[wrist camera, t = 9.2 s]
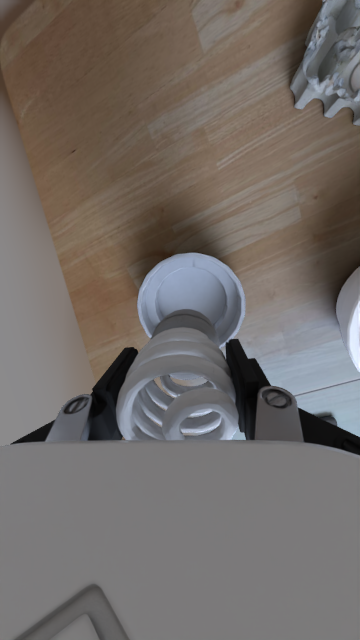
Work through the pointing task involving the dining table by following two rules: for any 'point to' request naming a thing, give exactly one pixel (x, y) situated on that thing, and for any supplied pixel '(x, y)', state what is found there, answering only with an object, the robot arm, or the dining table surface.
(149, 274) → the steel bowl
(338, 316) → the bowl
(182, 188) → the dining table surface
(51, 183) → the dining table surface
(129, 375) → the light bulb
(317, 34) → the egg carton
